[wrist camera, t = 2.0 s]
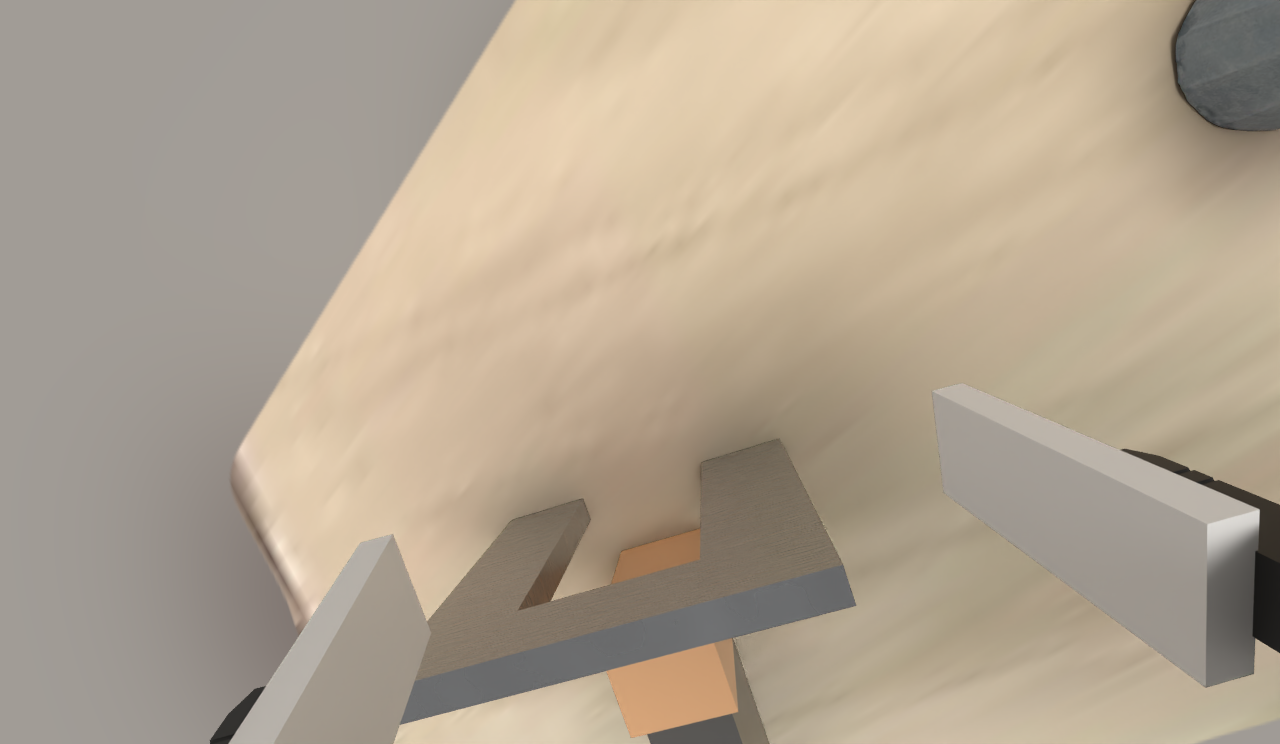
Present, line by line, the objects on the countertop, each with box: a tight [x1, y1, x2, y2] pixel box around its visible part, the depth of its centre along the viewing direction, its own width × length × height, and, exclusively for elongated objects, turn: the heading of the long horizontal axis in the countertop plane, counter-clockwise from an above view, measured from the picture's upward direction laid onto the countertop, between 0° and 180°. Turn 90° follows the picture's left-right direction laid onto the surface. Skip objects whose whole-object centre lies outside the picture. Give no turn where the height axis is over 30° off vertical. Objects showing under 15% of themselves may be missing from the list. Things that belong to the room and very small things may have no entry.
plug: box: [607, 529, 769, 744], centre depth 35 cm, size 20×6×10 cm, turn 19°
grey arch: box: [400, 439, 856, 725], centre depth 30 cm, size 2×18×18 cm, turn 109°
